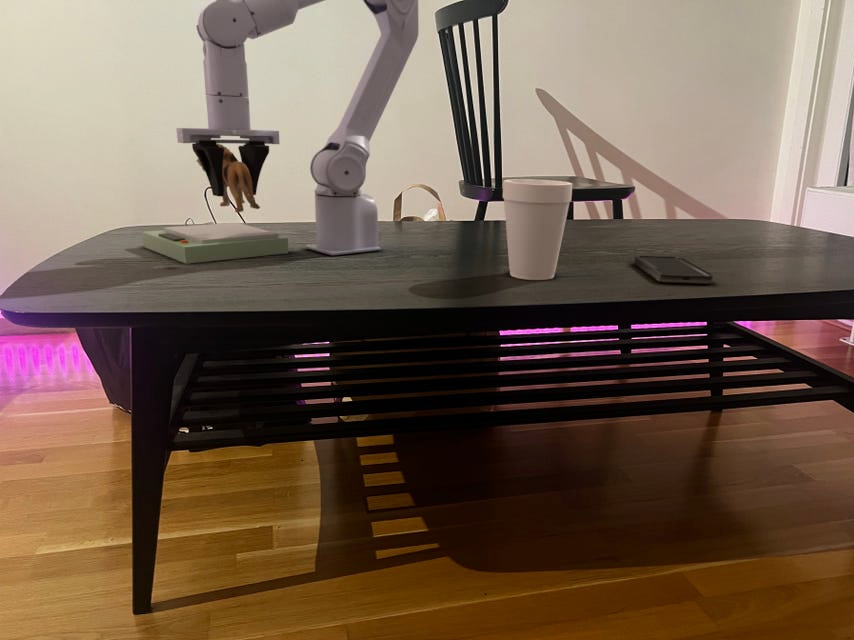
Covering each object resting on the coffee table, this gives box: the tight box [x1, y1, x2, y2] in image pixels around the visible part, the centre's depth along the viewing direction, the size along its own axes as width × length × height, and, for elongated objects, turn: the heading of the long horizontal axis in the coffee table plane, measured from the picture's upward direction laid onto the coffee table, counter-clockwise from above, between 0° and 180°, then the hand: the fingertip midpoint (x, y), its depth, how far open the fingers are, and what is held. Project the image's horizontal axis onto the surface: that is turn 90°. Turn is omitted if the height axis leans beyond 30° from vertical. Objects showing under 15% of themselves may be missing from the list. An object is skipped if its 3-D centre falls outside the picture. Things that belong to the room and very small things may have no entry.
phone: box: [633, 255, 714, 285], centre depth 105 cm, size 8×1×15 cm
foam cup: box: [502, 178, 573, 281], centre depth 98 cm, size 10×9×13 cm
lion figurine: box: [196, 143, 261, 213], centre depth 102 cm, size 15×5×9 cm, turn 42°
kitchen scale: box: [142, 222, 289, 265], centre depth 108 cm, size 16×16×3 cm
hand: (234, 195), depth 103 cm, fingers closed on lion figurine, 4 cm apart
